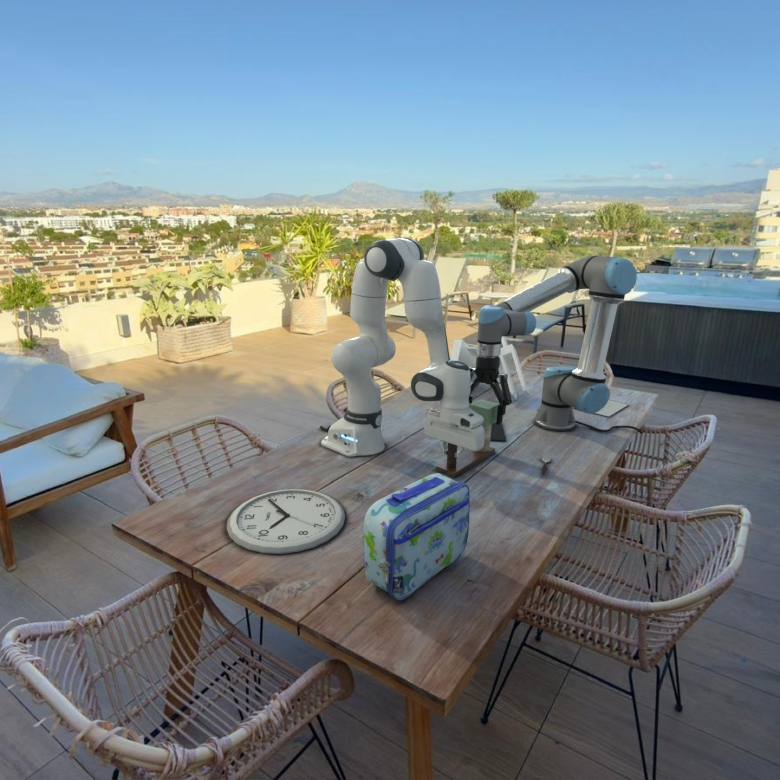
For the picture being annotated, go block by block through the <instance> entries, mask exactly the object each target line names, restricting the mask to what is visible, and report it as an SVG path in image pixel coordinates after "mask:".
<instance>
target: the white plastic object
mask: <svg viewBox="0 0 780 780" xmlns="http://www.w3.org/2000/svg"><path fill="white" fill-rule="evenodd" d="M501 346H502V347H501V352H500V355H499V357H500V364H499V367H500V366H502V370H503V374H507V375H508V379H507V382H508V386H509V390H510V394H511V396H512V397H513V398H514V399H515V400H517V392H516V391H517V390H516V388H515V385H514V381H513V378H512V375H511V371H510V369H509V365H508V361H510V360H513V363H514V366H515V369H516V372H517V376H518V380H519V382H520V385H521V389H522V391H523V393H524V395H525V396H526V397H528V396H531V395H530V390H529V388H528V387H529V386H528V384H527V381H526V378H525V375H524V371H523V369H522V368H523V367H522V366H521V362H520V359H519V355H518V352H517V349H516V347H515V346H514V345H513V343H511V344H508V341H507V336H504V337H503V336H502V340H501ZM477 355H478V354H477V345H473V346H469V345H468V343H466V342H465V340H464V339H463V338H460V339H458V338H454V340H453V344H452V349H451V353H450V360H453V361H460V362H462V363H464V364H466V365H467V366H468V367H469V368H470V367H473V368H475V369H476V356H477ZM476 378H477V376H476V374H475V373H474V374H473V377H472V379H471V383H473V382H474V380H475V379H476Z"/></svg>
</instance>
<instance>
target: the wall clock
mask: <svg viewBox="0 0 780 780" xmlns="http://www.w3.org/2000/svg"><path fill="white" fill-rule="evenodd" d="M345 520H346V515H345V511H344V508H343V507H342V505H341V504H340V503H339V502H338V501H337V500H336V499H334V498H333V497H331V496H329V495H327V494H324V493H322V492H319V491H315V490H309V489H298V488H297V489H295V488H292V489H289V488H288V489H280V490H279V489H278V490H274V491H270V492H269V491H268V492H265V493H262V494H260V495H257V496H254V497H252V498H250V499H248V500H246V501H245V502H243V503H241V504H240V505H239V506H237V508H236V509H234V510H233V511H232V512H231V514H230V516H229V517H228V519H227V522H226V531H227V534H228V537H229V538H230V539H231V540H232V541H233V542H234V543H235V544H236V545H238V546H240V547H242V548H244V549H246V550H248V551H253V552H256V553H261V554H271V555H273V554H274V555H281V554H282V555H283V554H291V553H300V552H303V551H306V550H311V549H314V548H316V547H318V546H320V545H322V544H325V543H328V541H330V540H332V538H334V537H335V536H336V535H338V533H339V532H340V531H341V530H342V528H343V527H344V524H345Z"/></svg>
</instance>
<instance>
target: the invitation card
mask: <svg viewBox="0 0 780 780" xmlns="http://www.w3.org/2000/svg"><path fill="white" fill-rule="evenodd" d="M628 406H629V404H627V403H623V402H618V401H614V400H610V399H609V400H608V402H607V404H606V405H605V406H604V407H603V408H602V409H601V410H600V411H598V412H596V413H595V414H596V415H600V416H604V417H608V418H609V417H611V416H613V415H614V414H616V413H617V412H619V411H621V410H623V409H624V408H626V407H628Z"/></svg>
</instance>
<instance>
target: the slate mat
mask: <svg viewBox="0 0 780 780" xmlns="http://www.w3.org/2000/svg"><path fill="white" fill-rule="evenodd" d="M490 442H503V443H504V442H506V438H505V434H504V430H503V426H502V423H501V424H499V425H496V422H495V423H493V424H492V427H491V439H490Z"/></svg>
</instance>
